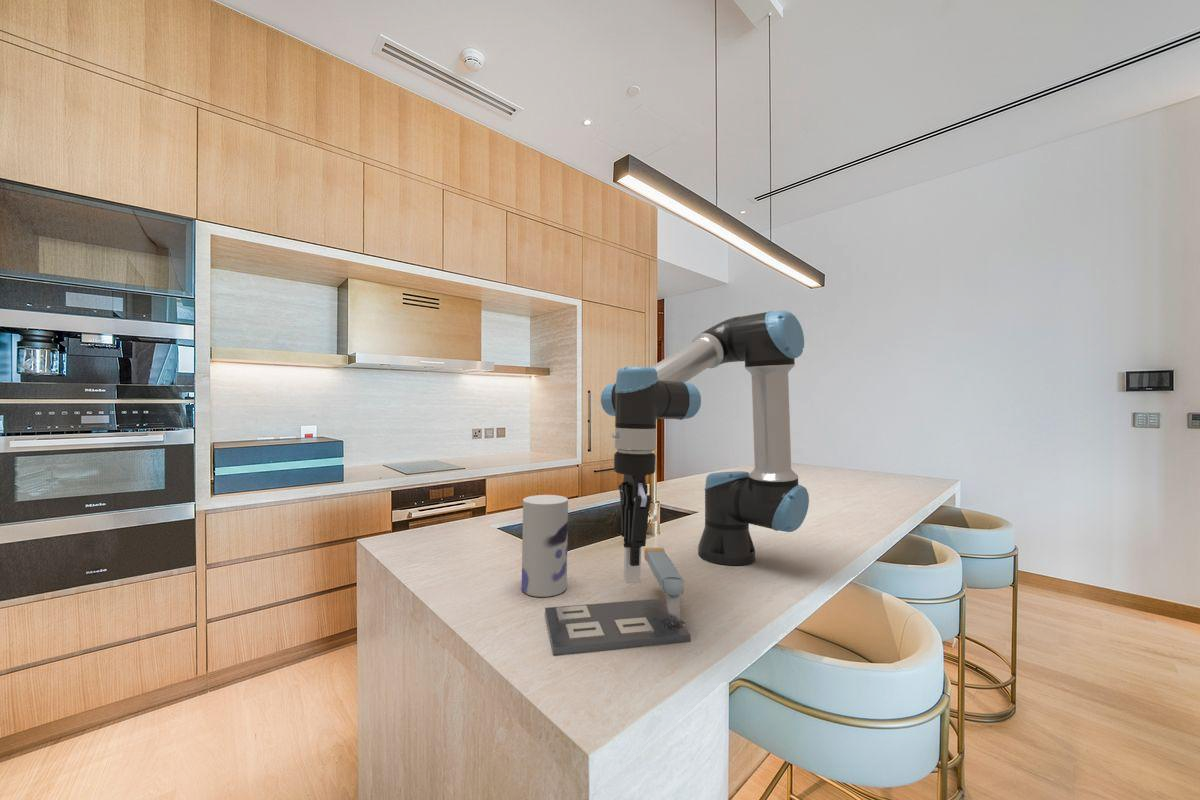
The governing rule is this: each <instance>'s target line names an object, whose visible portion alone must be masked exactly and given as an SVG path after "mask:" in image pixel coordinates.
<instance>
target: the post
mask: <svg viewBox="0 0 1200 800" xmlns="http://www.w3.org/2000/svg"><path fill="white" fill-rule="evenodd" d="M666 605H667V618H666V623H667V624H668V628H671V627H673V626H674V628H675V627H676V626H677V627H679V624H680V622H681V623H682V624H680V625H683V626H684V627H685V628H686V622H685V621H684V620H682V619H680V617H681V615H680V613H681V595H677V596H674V595H668V594H666ZM663 621H664V620H663ZM663 621H662V622H663ZM662 622H661V623H662ZM663 625H664V626H665V624H663ZM669 625H670V627H669ZM665 627H667V626H665ZM680 627H681V626H680ZM682 628H683V627H682ZM672 629H673V628H672ZM676 629H678V628H676ZM679 629H680V628H679Z"/></svg>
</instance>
